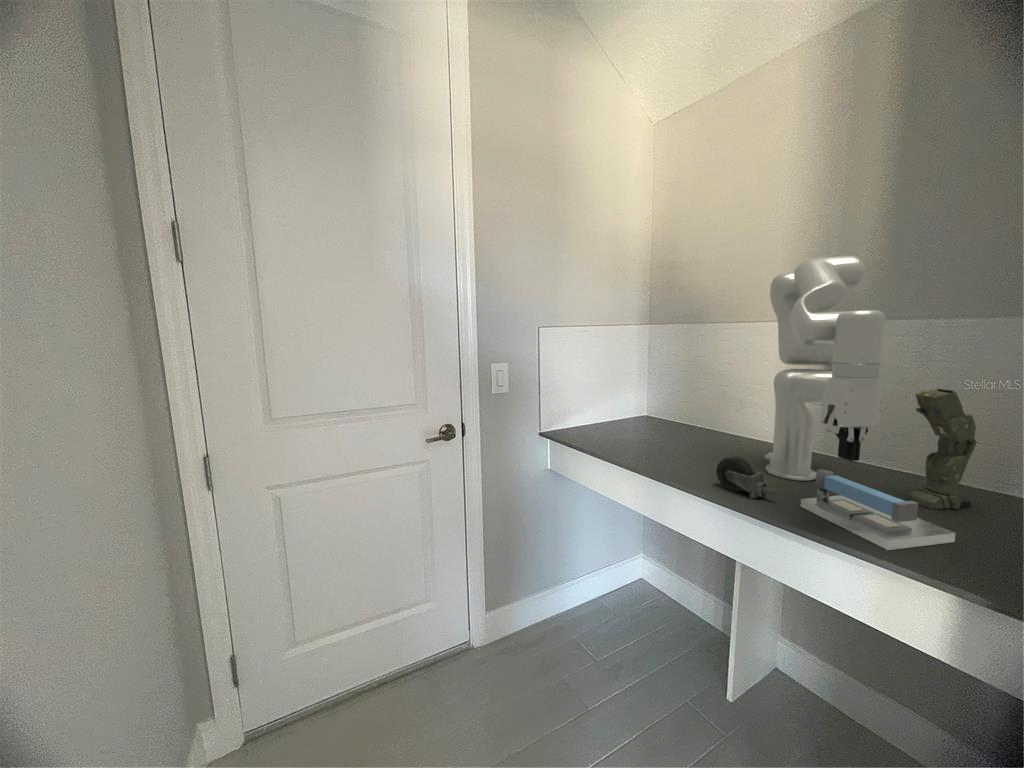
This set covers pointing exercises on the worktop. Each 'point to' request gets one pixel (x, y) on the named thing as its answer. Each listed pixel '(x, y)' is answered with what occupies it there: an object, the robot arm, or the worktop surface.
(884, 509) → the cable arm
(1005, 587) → the worktop surface
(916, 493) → the mechanical leg
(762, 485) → the caster wheel
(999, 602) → the worktop surface
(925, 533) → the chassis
